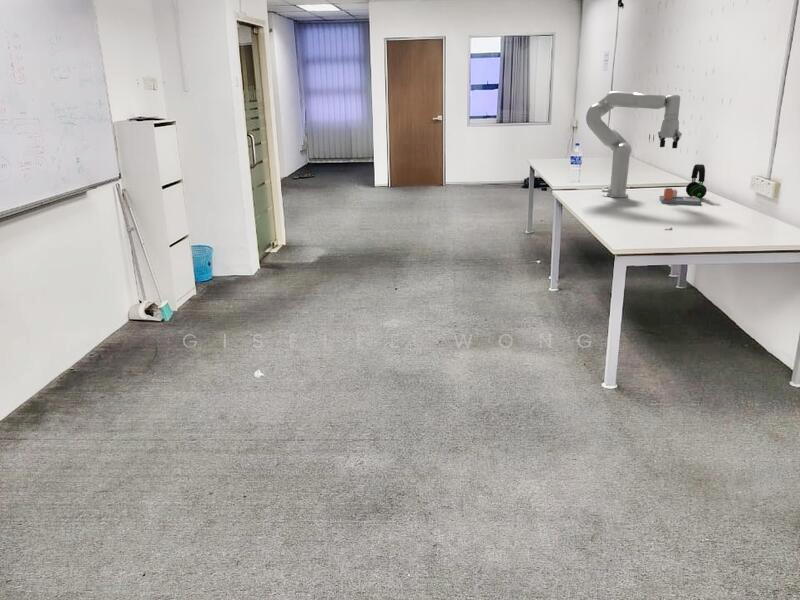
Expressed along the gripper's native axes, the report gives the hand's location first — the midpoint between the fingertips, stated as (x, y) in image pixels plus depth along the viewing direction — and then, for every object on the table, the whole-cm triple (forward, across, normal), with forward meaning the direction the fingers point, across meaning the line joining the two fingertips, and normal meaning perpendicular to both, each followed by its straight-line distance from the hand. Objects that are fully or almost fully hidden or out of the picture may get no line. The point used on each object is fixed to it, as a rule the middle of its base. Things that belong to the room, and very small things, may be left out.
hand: (668, 147), depth 373 cm
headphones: (+31, +5, +20) cm, 37 cm away
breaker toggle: (+28, +8, +1) cm, 29 cm away
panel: (+30, +12, +1) cm, 33 cm away
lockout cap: (+28, +10, -7) cm, 31 cm away
